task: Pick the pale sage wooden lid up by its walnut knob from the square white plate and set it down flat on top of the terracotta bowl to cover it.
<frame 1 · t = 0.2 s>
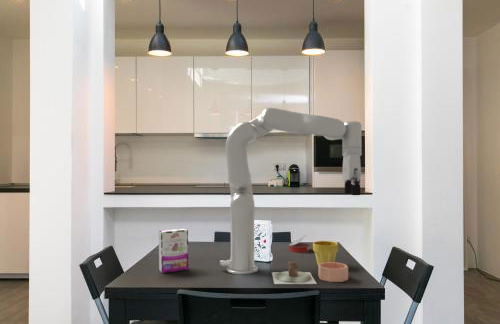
hand: (352, 194, 158), 31 cm above the table, tool pointing down, fingers open, 9 cm apart
canned food: (299, 251, 196), on the table
candy bar box: (173, 270, 158), on the table
bowl: (333, 278, 146), on the table
lid: (293, 277, 145), resting on square white plate
plant pot: (325, 266, 165), on the table
square white plate: (293, 279, 145), on the table
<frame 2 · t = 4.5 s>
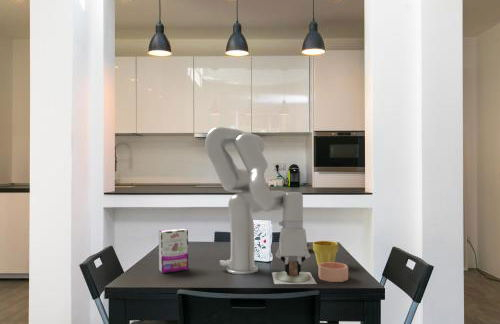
hand: (292, 273, 146), 2 cm above the table, tool pointing down, fingers closed on lid, 3 cm apart
lid: (292, 277, 145), point 1 cm above the table, touching gripper
everything else where it was.
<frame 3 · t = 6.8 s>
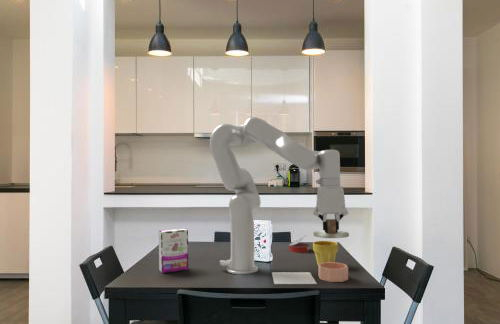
hand: (330, 231, 146), 18 cm above the table, tool pointing down, fingers closed on lid, 3 cm apart
lid: (331, 235, 146), point 16 cm above the table, touching gripper
everything else where it was.
when the fingers open (7 cm above the table, at t = 9.4 s): lid stays where it is, resting on bowl.
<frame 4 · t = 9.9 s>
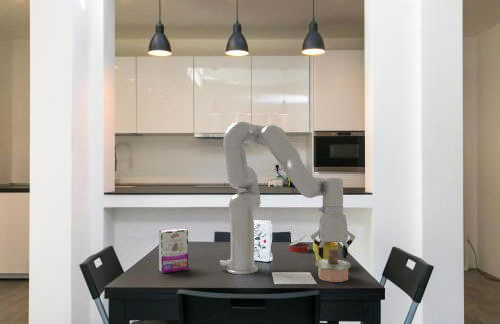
hand: (333, 257, 146), 8 cm above the table, tool pointing down, fingers open, 8 cm apart
lid: (332, 265, 146), point 5 cm above the table, touching bowl
everything else where it was.
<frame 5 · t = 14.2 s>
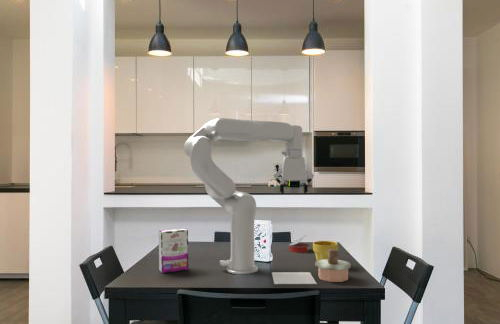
hand: (293, 193, 168), 30 cm above the table, tool pointing down, fingers open, 9 cm apart
nothing on the table moved.
at the end: lid 0.1 cm off-centre on the bowl, point 5.0 cm above the bowl's base; lid tilted 0°; the gripper is holding nothing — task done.
